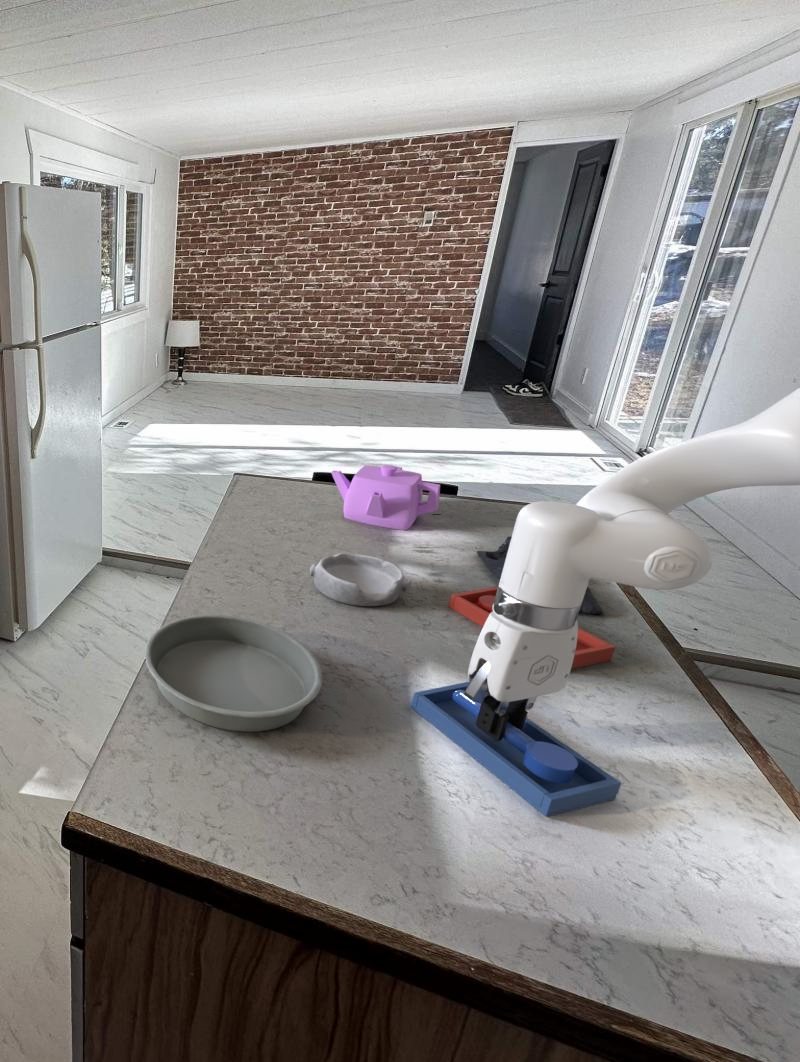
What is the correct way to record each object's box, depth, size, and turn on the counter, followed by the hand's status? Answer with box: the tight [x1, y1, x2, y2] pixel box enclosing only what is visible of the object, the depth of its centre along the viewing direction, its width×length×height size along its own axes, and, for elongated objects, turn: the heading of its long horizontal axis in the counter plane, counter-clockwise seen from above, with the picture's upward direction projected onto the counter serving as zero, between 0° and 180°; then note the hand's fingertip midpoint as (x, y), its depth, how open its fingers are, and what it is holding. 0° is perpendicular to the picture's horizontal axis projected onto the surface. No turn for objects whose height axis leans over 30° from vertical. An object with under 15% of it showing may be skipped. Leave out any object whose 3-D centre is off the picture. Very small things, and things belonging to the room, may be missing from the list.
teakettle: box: [330, 464, 441, 531], centre depth 145 cm, size 17×17×12 cm
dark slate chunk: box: [476, 536, 605, 615], centre depth 116 cm, size 15×22×5 cm
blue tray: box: [410, 680, 622, 817], centre depth 80 cm, size 19×10×2 cm, turn 12°
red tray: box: [448, 586, 616, 670], centre depth 103 cm, size 19×10×2 cm, turn 12°
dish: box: [309, 552, 412, 607], centre depth 117 cm, size 14×14×5 cm
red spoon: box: [477, 595, 495, 613], centre depth 103 cm, size 15×5×2 cm, turn 12°
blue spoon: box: [452, 690, 578, 783], centre depth 80 cm, size 15×5×2 cm, turn 12°
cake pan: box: [144, 614, 323, 733], centre depth 95 cm, size 25×25×4 cm
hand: (497, 730), depth 81 cm, fingers closed on blue spoon, 2 cm apart
